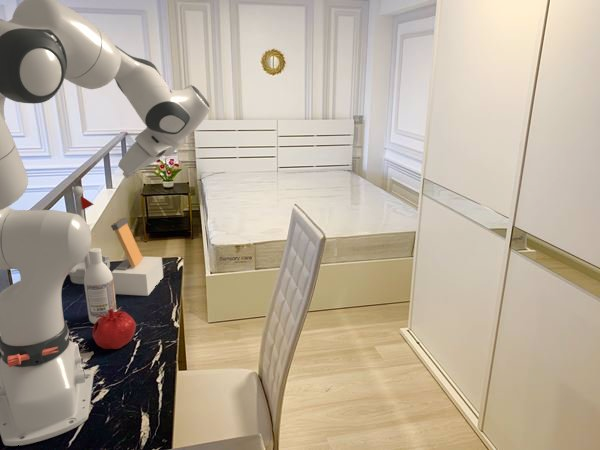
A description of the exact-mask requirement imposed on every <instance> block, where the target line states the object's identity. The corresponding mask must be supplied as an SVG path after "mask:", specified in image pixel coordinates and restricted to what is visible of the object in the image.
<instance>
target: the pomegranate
mask: <svg viewBox="0 0 600 450" xmlns="http://www.w3.org/2000/svg"><path fill="white" fill-rule="evenodd" d="M121 310H123V309H122V308H120V309H117V311H116V312H113V309H110V310H108V315H106V316H102V315H99V316H98V317H102V318H99V319H98V320H97V322H96V323H95V324H94V325H93V328H92V333H91V334H92V337H93V340H94V342H95V344H96V345H97V346H98V347H100V348H101V349H104V350H110V349H113V350H119V349H121V348H123V347H124V346H126V345H127V344H129V342H131V341H132V339H133V338H134V335H135V332H136V328H137V323H136V321H135V320H134V318H133V317H132V316H131V315H130V312H129V313H128V312H126V311H121ZM98 317H96V318H98Z"/></svg>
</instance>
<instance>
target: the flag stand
mask: <svg viewBox="0 0 600 450" xmlns="http://www.w3.org/2000/svg"><path fill="white" fill-rule="evenodd" d="M72 193H73V194H74V195H75V198H76V205H77V214H78V215H80V216H81V217H82V218H83V219H84V220H85V221H86V219H85V212H84V210H86V209H87V208H89V207H92V206H93V205H95V204H94V203H92V202H91V201H89V200H88V199H86V198H85V197H84V196H83V194H84V189H83V187H82V186H79V185H76V186H74V187H73V189H72ZM102 262H103V263H104V264H105V265H106V266H107V267H108V268H109V269H110V267H111V263H110V258H109V256H108V255H106V254H103V255H102ZM89 265H90V258H89V252H88V254H87V255H86V257H85V258H84V259H83V260H82V261H81V262H80V263H79V264H77V265H76V266H75V267H73V268H72V270H71V271H70V272H69V273H68V274H67V276H68V275H69V277H70V281H71V282H72V283H73V284H77V285H84V275H85V272H86V270H87V268H88V266H89Z"/></svg>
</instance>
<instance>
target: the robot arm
mask: <svg viewBox="0 0 600 450" xmlns="http://www.w3.org/2000/svg"><path fill="white" fill-rule="evenodd" d="M64 80H66V81H68V82H70V83H71V84H74V85H75V86H78V87H81V88H85V89H86V90H96V89H100V88H103V87H105V86H106V85H108V84H109V83H111V82H112V81H113V80H115V82H116V85H117V86H118V87H117V88H119V90H120V91H121V92H122V94H123V95H124V96H125V97H126V98H127V100H128V102H129V103H130V105H131V106H132V107H133V109H134V111H135V112H136V114H137V115H138V117H139V118H140V120H141V122H142V123H143V124H144V125H145V126H146V128H145V129H143V130H142V131H141V132H140V133H139V134H137V135H136V136H135V138H134V140H135V142H134V143H133V144H131V146H129V148H128V150H127V151H126V152H125V153H124V155H123V156H122V157H121V158H120V160H119V162H118V164H117V165H118V168H119V169H121V171H122V172H123V173H122V176H123V177H125V179H129V178H131V177H132V176H134V175H135V174H136V173H137V172H138V171H139V170H141V169H144V168H146V167H147V166H149V165H151V164H154V163H156V162H157V161H158V160H160V159H161V158H162V157H170V156H171V155H172V154H173V153H174V152H175V151H176V150H177V149H178V148H179V147H180V145H182V143H184V140H186V139H185V138H186V137H188V136H189V135H190V134H192V133H193V132H194V131H195V130H196V129H198V127H199V126H200V125H201V123H202V122H203V121H204V120H205V118H206V117H207V115H208V114H209V113H210V109H211V106H210V103H209V102H208V100H207V99H206V97H205V96H204V95H203V94H202V93H201V91H200V90H199V89H198V88H197V87H195V85H192V84H189V85H188V86H186V87H185V88H183V89H171V88H170V86H169V85H168V84H167V83H166V81H165V80H164V78H163V77H162V75H161V73H160V72H159V70H158V68H157V66H156V65H155V64H154V63H153V62H151V61H149V60H147V59H145V58H144V59H143V58H139V57H136V56H133V55H130V54H128V53H127V52H125V50H122V49H121V48H120V47H118V46H117V45H116V44H114V42H113V41H112V40H111V38H109V37H108V36H107V35H106V34H105V33H104V32H103V31H102V30H100V28H98V27H97V26H96V25H95V24H94V23H92V22H91V21H90V20H88V19H87V18H86V17H84V16H82V15H81V14H80V13H78V12H77V11H75V10H73V9H72V8H71V7H68V6H67V5H65V4H63V3H61V2H59V1H57V0H22V1H21V2H20V3H19V4H18V5H17V6H16V7H15V9H14V11H13V14H12V18H11V19H10V20H8V21H6V20H4V19H2V18H0V270H17V271H18V272H19V275H20V279H19V280H18V281H16V282H14V283H13V284H10V285H9V286H7V287H6V288H4V289H3V290H2V291H1V292H0V355H1V357H0V437H1V441H2V443H3V445H4V446H9V447H16V446H18V445H19V446H25V445H30V444H34V443H37V442H41V441H45V440H48V439H51V438H54V437H57V436H59V435H62V434H64V433H67V432H69V431H71V430H73V429H75V428H77V427H79V426H80V425H81V424H83V423H85V422H86V421H87V420H88V419H89V414H90V407H91V399H92V391H93V385H94V372H93V371H92V370H90V369H84V368H83V367H82V363H83V358H82V356H81V355H80V349H79V348H80V347H79V344H78V343H76V342H74V341H71V340H70V331H69V327H68V324H67V321H65V319H64V312H63V311H64V310H63V303H62V302H63V301H62V300H63V299H62V298H63V297H62V290H63V285H64V282H65V280H66V277H67V276H68V273H69V272H70V271H71V270H72V268H73V267H75V266H76V265H77V264H79V263H80V262H81V261H82V260H83V259H84V258H85V257H86V255H87V254H88V252H89V250H90V249H91V247H92V239H93V238H92V232H91V228H90V226H89V224H88V222H87V221H86V219H85V220H84V219H83V218H82V217H81V216H80V215H79V214H78V213H74V212H67V211H61V210H55V209H27V210H26V209H22V210H21V209H12V208H11V207H10V206H12V205H13V204H14V203H15V202H17V201H18V200H19V199H20V198H21V197H22V196H23V195H25V192H26V190H27V188H28V184H29V176H28V173H27V171H26V168H25V166H24V163H23V160H22V158H21V156H20V153H19V151H18V148H17V145H16V142H15V140H14V138H13V136H12V133H11V130H10V129H9V126H8V125H7V123H6V117H5V101H6V99H8V100H10V101H12V102H16V103H21V104H22V103H23V104H42V103H45V102H47V101H49V100H51V99H52V98H53V97H54V96H56V94H57V93H58V92H59V90H60V89H61V87H62V85H63V83H64ZM19 446H18V447H19Z"/></svg>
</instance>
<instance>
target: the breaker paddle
mask: <svg viewBox="0 0 600 450" xmlns="http://www.w3.org/2000/svg"><path fill="white" fill-rule="evenodd" d="M110 227H111V229H112V231H114V233H115V235H116V237H117V239H118V242H119V243H120V246H121V247H122V249H123V251H124V254H125V256H126V258H128V260H129V263H130V265H131V267H135V266H136V265H137V264H138V263H139V262H140V261H141V260H142V259H143V257H144V256H143V255H142V253H141V251H140V249H139V247H138V244H137V242H136V240H135V238H134V236H133V233H132V230H131V229H130V226H129V225H128V220H127V217H123V218H120V219H118V220H117V221H115V222H114V223H113V224H111V225H110ZM142 256H143V257H142Z"/></svg>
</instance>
